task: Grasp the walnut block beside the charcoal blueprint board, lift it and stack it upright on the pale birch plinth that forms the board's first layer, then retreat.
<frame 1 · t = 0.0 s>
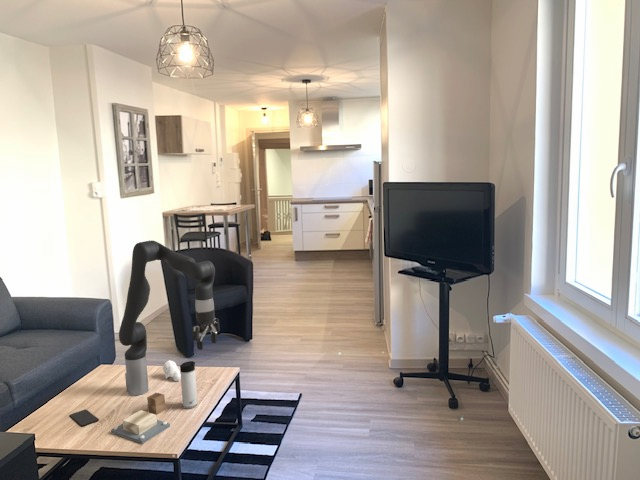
hand: (207, 346, 202), 29 cm above the table, fingers open, 8 cm apart
walnut block: (156, 411, 208), on the table
white lumpy piece: (174, 379, 240), on the table
smartphone: (84, 419, 203), on the table
birch plinth: (140, 422, 192), point 3 cm above the table
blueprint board: (140, 429, 193), on the table
travel mug: (190, 406, 212), on the table
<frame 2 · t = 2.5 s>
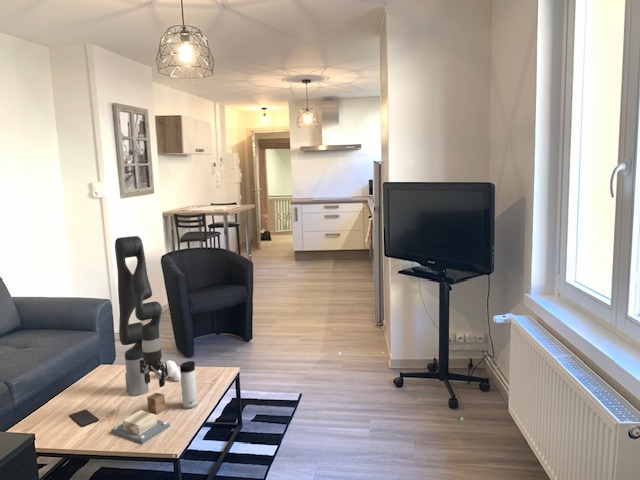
hand: (154, 384, 206), 12 cm above the table, fingers open, 8 cm apart
nothing on the table moved.
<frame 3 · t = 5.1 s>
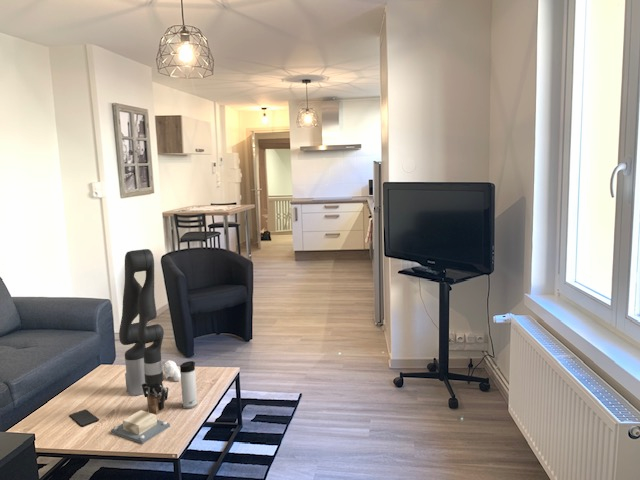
hand: (156, 407, 207), 1 cm above the table, fingers closed on walnut block, 5 cm apart
walnut block: (156, 411, 208), on the table, touching gripper
everything else where it was.
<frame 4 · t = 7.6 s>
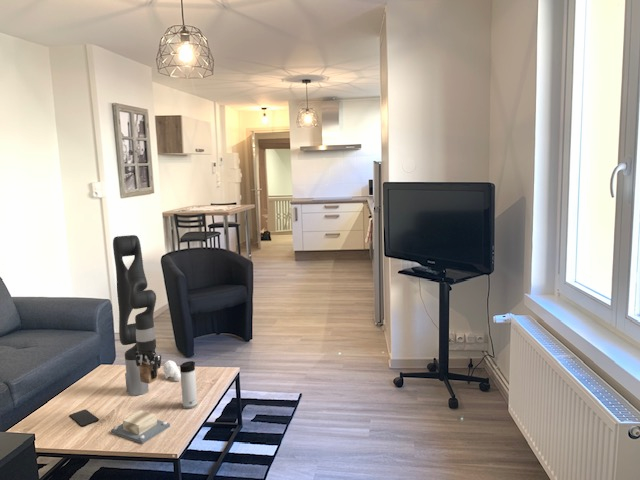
hand: (149, 377, 200), 18 cm above the table, fingers closed on walnut block, 5 cm apart
walnut block: (149, 380, 200), point 16 cm above the table, touching gripper
everything else where it was.
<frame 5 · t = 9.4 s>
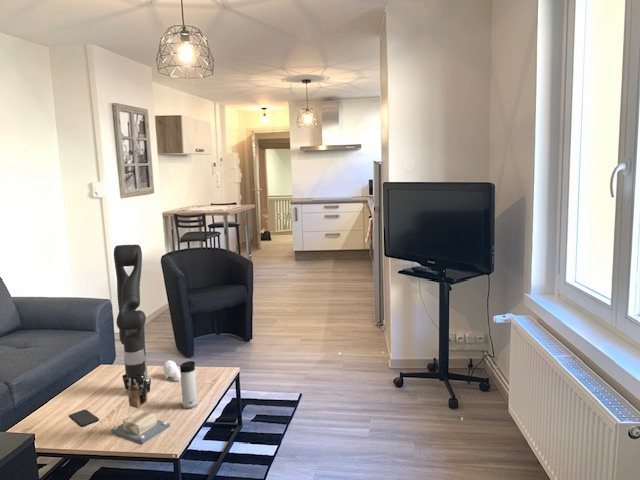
hand: (138, 401, 191), 12 cm above the table, fingers closed on walnut block, 5 cm apart
walnut block: (138, 404, 191), point 11 cm above the table, touching gripper
everything else where it was.
when the fingers open (8 cm above the table, at t = 10.6 s): walnut block drops 1 cm, resting on birch plinth.
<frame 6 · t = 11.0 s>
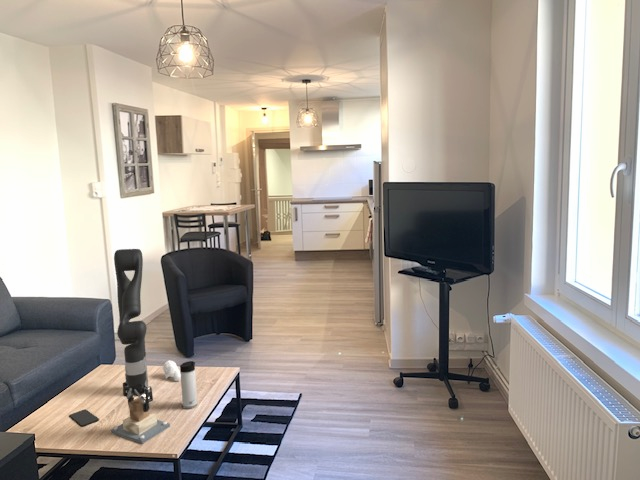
hand: (139, 409, 191), 9 cm above the table, fingers open, 8 cm apart
walnut block: (139, 417, 192), point 5 cm above the table, touching birch plinth
everything else where it was.
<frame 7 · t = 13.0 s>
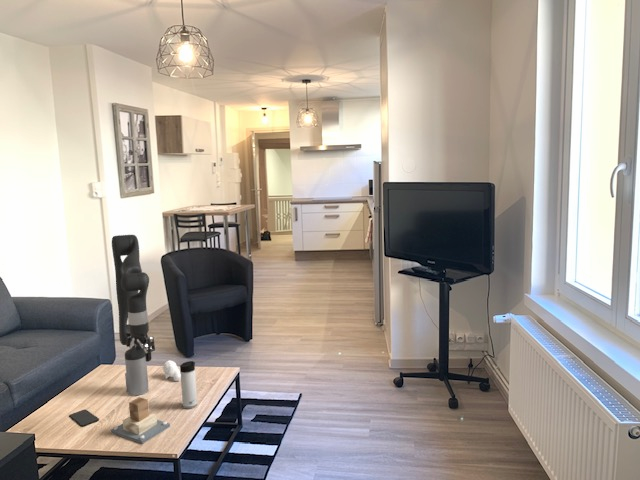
hand: (141, 358, 197), 27 cm above the table, fingers open, 8 cm apart
nothing on the table moved.
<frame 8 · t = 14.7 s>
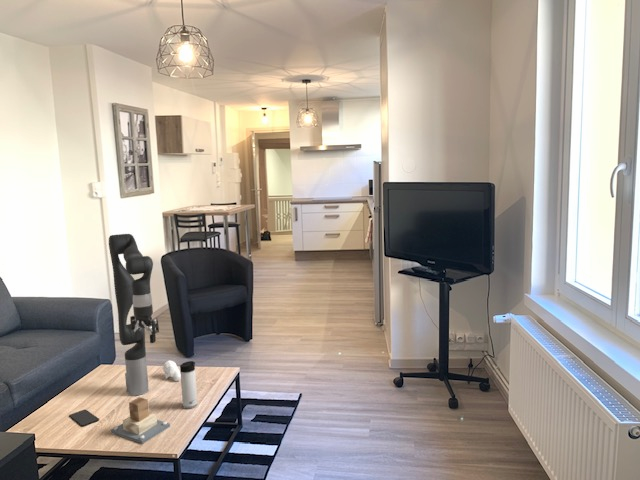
hand: (145, 341, 202), 32 cm above the table, fingers open, 8 cm apart
nothing on the table moved.
at the end: walnut block 0.0 cm off-centre on the birch plinth, point 5.2 cm above the birch plinth's base; walnut block tilted 0°; the gripper is holding nothing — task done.
